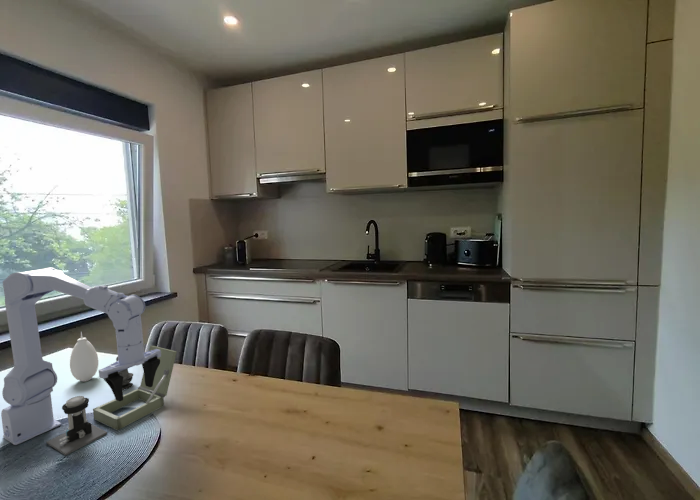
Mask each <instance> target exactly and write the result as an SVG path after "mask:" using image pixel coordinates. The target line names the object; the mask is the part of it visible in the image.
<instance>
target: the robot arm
mask: <svg viewBox="0 0 700 500" xmlns="http://www.w3.org/2000/svg"><path fill="white" fill-rule="evenodd" d="M2 287H3V288H2V289H3V294H4V295H3V296H4V306H5V311H6V319H7V325H8V333H9V337H10V338H9V339H10V344H11V351H12V352H11V353H12V358H13V364H14V365H13V368H11V370H10V371H9V372H8V373H7V374H6V375H5V377H3V383H4V384H3V388H2V391H1V392H2V398H3V400H4V401H5V402H6V403H7V404H8V405H9V406H7V407H5V408H3V409H2V410H1V413H0V414H1V417H0V418H1V424H2V430H3V431H2V432H3V435H2V438H3V439H5V440H6V441H8V442H10V443H11V444H12V445H14V446H17V445H20V444H22V443H25V442H26V441H28V440H31V439H33V438H35V437H37V436H39V435H42V434H45V433H46V432H48V431H50V430H52V429H54V428H57V427H60V426H61V425H62V424H61V422H60V421H58V420H56V419H55V418H54V412H53V403H52V394H51V393H53V392H54V387H55V386H56V384H57V383H58V375H57V373H56V371H55V370H54V368H53V363H52V362H50V361H46V360H44V359H43V354H42V353H43V352H42V347H41V346H42V345H41V339H40V332H39V326H38V318H37V313H36V312H37V311H36V303H37V302H38V301H40V300H41V299H42V298H43V297H44V296H46V295H47V294H49V293H51V292H54V291H55V292H59V293H60V294H61V293H63V294H65V295H67V296H71V297H74V298H76V299H77V298H78V299H81V300H82V301H83V303H84V305H85V306H86V307H88V308H91V309H93V310H97V311H99V312H101V313H104V314H107V316H108V318H109V320H110V321H111V322H112V325H113V328H114V329H115V339H116V349H117V357H118V361H115V362H113V363H111V364H108V365H107V366H105V367H101V368H100V369H98V377H99V378H100V379H102V380H103V381H105V382H106V384H107V385H108V386H109V389H110V390H111V391H112V394H113V395H114V399H116V400H117V401H122V400H123V395H124V393H123V392H124V390H123V391H122V384H123V376H120V374H118V372H120V371H123V370H125V369H128V370H129V369H130V368H133V367H135V366H139V365H142V370H143V373H144V377H145V384H146V386H148V387H152V386H153V381H154V377H155V373H156V370H157V368H158V366H159V364H160V359H157V358H158V357H161V350H159V349H155V350H151V351H149V350H148V351H145V348H144V347H145V346H144V335H143V334H144V333H143V325H142V314H143V313H144V312H145V310H146V303H145V300H144V299H143V298H142V297H140V296H139V295H137V294H130V295H125V293H124V292H117V291H115V290H112V289H110V288H109V287H108V285H106V284H102V285H95V286H93V287H92V286H90V285H88V284H86V283H83V282H82V281H79V280H77V279H74V278H72V277H71V276H68V275H67V274H65V273H64V271H63V270H60V269H56V268H55V267H50V266H49V267H44V268H40V269H34V270H26V271H21V272H20V271H17V272H12V273H11V274H9V275H8V276H7V277H6V278H5V279H4V280H2Z"/></svg>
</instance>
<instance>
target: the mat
mask: <svg viewBox="0 0 700 500" xmlns="http://www.w3.org/2000/svg"><path fill="white" fill-rule="evenodd" d="M91 427H92V432H91V433H90V434H86V435H85V436H84V437H82V438H79V439H77V440H75V441H73V442H69V441H68V442H65V443H64V442H63V441H65V440H67V438H66V439H64V440H62V438H64V437H65V436H66V432H63V433H61V434H60V435H57V436H55V437H53V438H51V439H49V440H46V442H45V443H46V444H47V445H48V446H50V447H52V449H55V450H56V451H58V452H60V453H61V454H63V455H64V456H68V455H69V454H72V453H73V452H76V451H77V450H79V449H81V448H83V447H85V446H88V445H89V444H90V443H92V442H94V441H97V440H98V439H101V438H102V437H104V436H105V435H108V431H106V430H104V429H103V428H100V427H98V426H96V425H94V424H92V423H91ZM60 439H61V440H62V441H60ZM61 442H63V444H60V443H61Z"/></svg>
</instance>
